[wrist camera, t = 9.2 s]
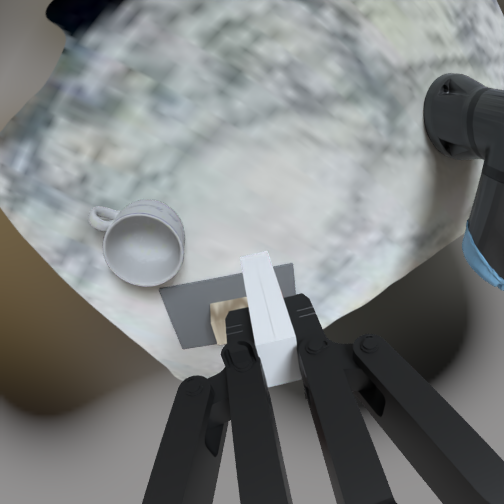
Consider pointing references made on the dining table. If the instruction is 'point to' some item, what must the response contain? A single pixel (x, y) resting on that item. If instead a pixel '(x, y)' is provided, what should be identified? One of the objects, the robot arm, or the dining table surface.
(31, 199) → the dining table surface
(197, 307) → the mat
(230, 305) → the block
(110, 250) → the teacup
